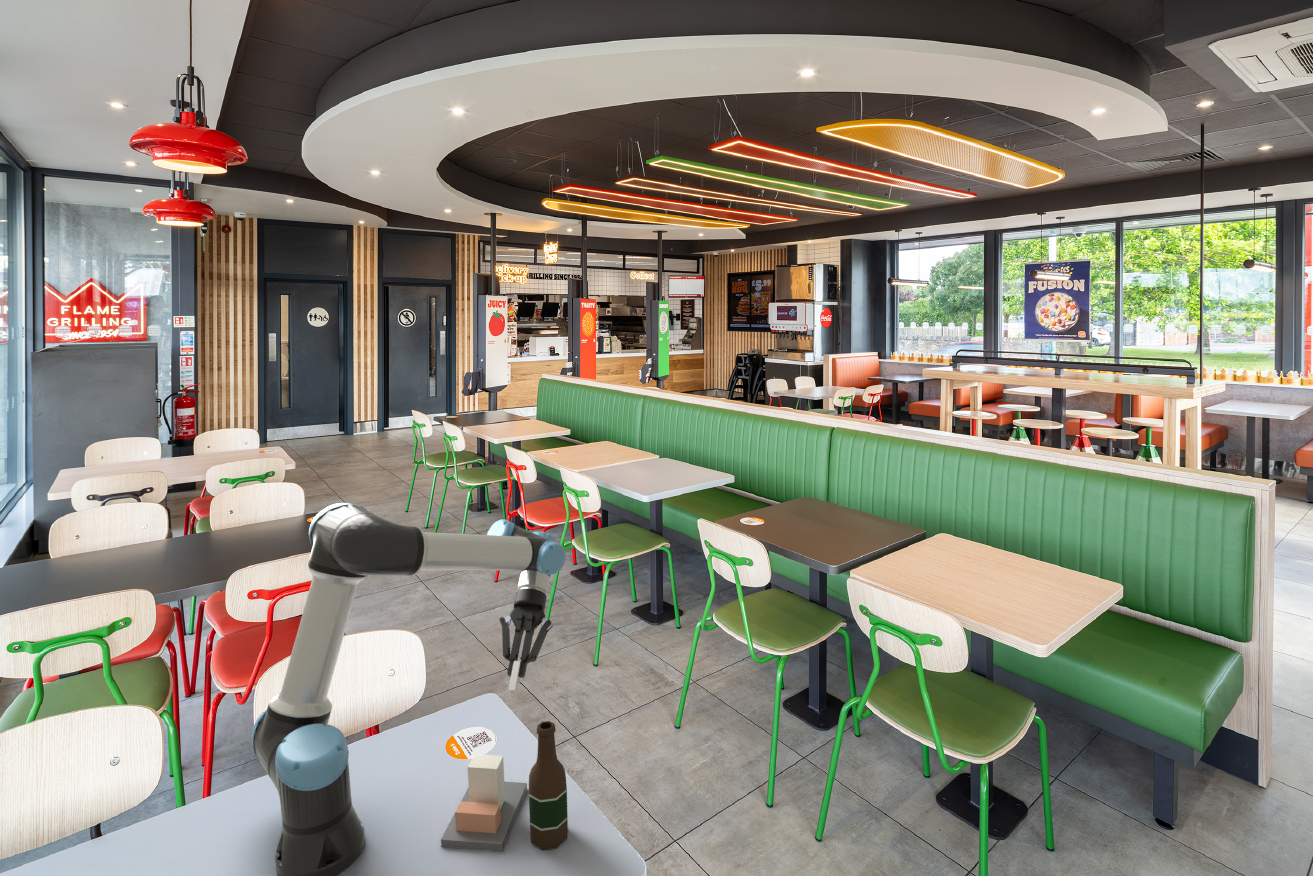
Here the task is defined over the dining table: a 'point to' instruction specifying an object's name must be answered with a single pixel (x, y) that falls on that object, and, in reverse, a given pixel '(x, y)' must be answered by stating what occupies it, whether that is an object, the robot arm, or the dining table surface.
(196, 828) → the dining table surface
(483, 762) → the cream tall block
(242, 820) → the dining table surface
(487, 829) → the peach rectangular block
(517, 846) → the dining table surface
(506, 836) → the base
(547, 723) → the beer bottle
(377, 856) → the dining table surface
